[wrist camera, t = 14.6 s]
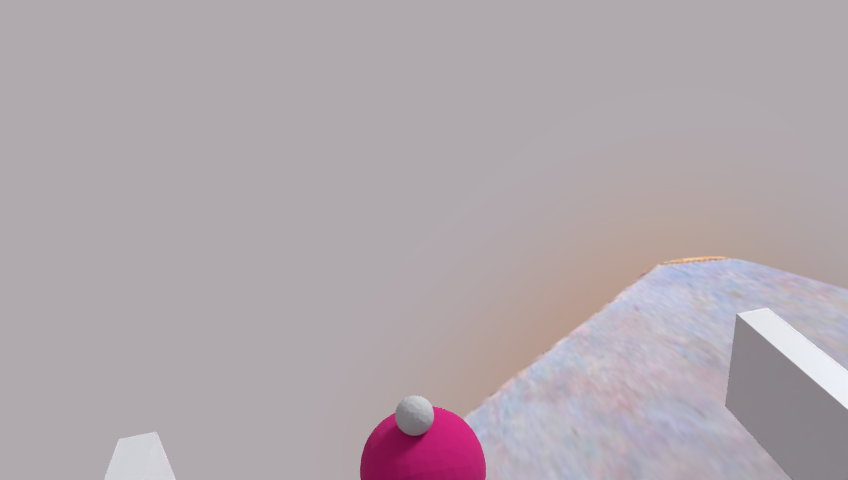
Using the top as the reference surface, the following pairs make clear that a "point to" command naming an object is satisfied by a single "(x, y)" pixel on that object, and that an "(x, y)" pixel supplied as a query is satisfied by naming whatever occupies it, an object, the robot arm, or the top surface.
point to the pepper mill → (422, 446)
